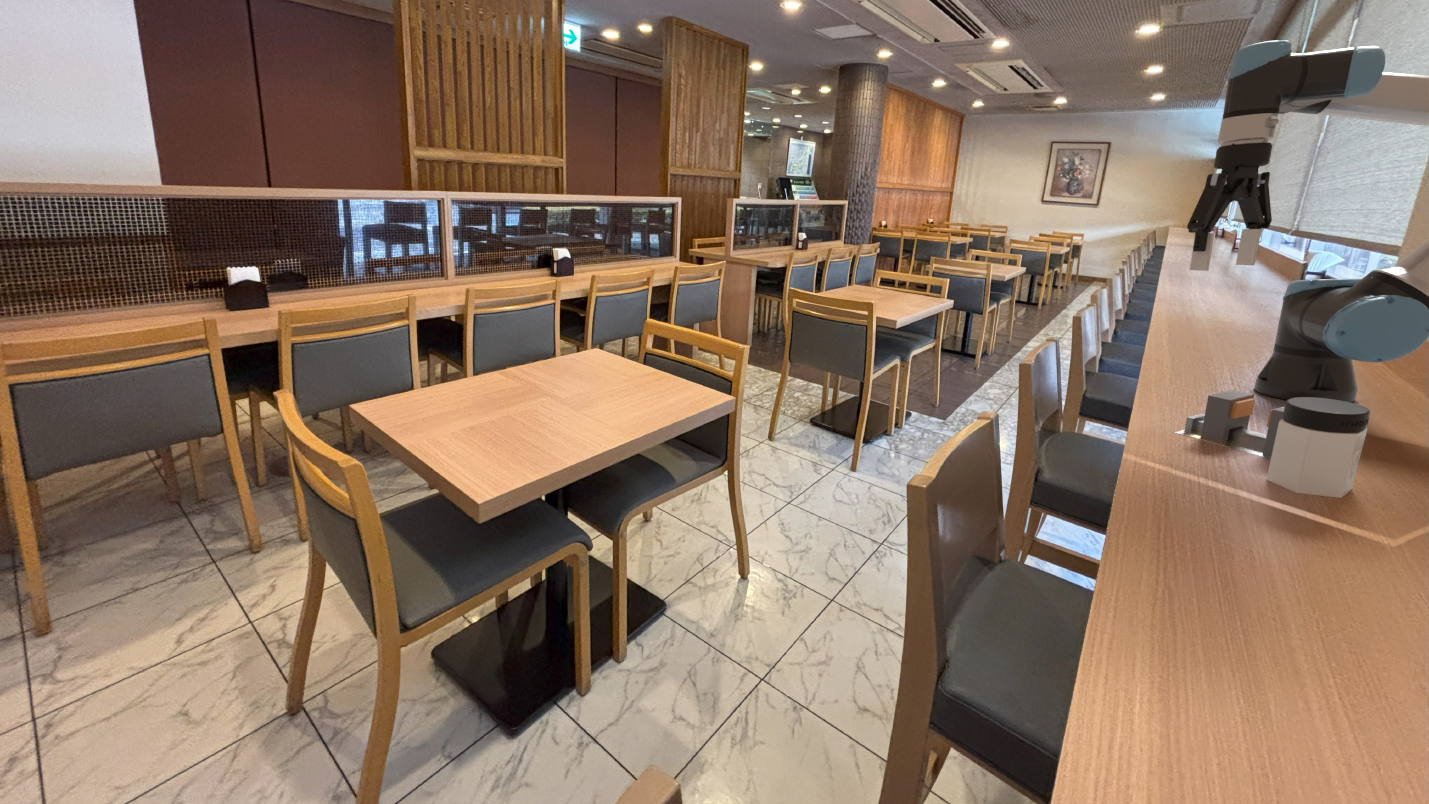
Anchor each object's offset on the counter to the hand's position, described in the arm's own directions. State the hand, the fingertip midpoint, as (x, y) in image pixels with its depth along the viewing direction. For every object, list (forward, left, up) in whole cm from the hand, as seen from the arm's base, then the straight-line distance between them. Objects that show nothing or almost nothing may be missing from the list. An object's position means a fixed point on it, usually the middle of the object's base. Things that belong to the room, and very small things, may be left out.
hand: (1222, 267), depth 114 cm
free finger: (+16, +13, -26) cm, 33 cm away
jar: (+26, +30, -27) cm, 48 cm away
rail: (+16, +18, -27) cm, 36 cm away
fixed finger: (+16, +22, -26) cm, 37 cm away
